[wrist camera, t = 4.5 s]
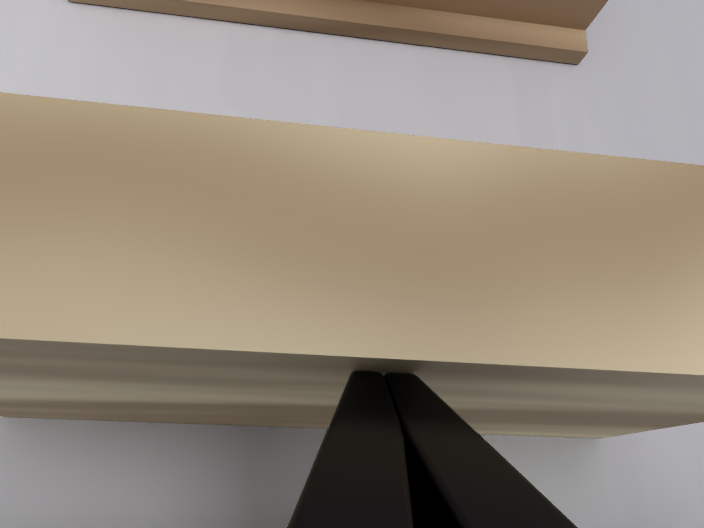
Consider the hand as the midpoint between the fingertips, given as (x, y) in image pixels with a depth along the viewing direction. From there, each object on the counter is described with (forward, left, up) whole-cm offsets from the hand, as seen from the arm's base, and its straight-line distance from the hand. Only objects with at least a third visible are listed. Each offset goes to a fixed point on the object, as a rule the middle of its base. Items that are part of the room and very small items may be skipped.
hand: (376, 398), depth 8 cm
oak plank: (+1, +1, -7) cm, 7 cm away
